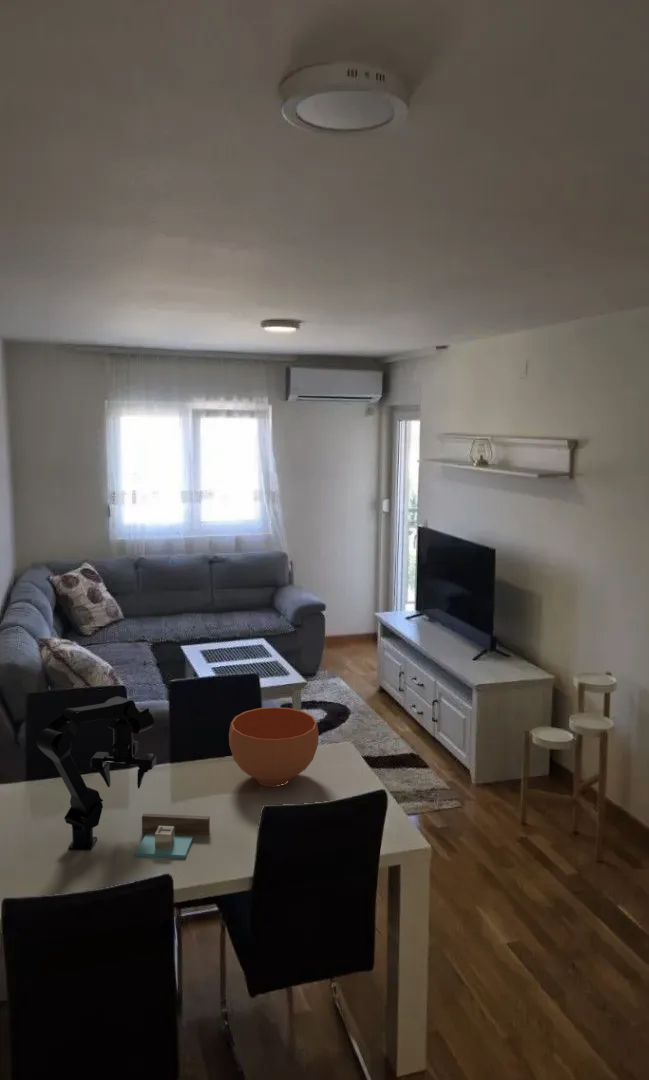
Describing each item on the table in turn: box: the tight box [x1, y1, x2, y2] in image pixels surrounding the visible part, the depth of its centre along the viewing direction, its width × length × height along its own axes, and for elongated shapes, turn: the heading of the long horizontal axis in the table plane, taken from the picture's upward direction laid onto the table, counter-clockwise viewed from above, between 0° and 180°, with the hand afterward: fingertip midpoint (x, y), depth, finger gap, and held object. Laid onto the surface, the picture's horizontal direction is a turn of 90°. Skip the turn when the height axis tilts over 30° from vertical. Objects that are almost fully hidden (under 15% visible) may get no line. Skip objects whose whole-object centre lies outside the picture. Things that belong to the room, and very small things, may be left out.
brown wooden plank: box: [141, 813, 211, 836], centre depth 234 cm, size 2×20×5 cm, turn 87°
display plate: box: [135, 834, 194, 859], centre depth 225 cm, size 10×14×1 cm
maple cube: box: [154, 826, 175, 849], centre depth 225 cm, size 4×4×5 cm
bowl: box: [228, 706, 320, 787], centre depth 268 cm, size 30×30×20 cm
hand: (124, 787), depth 238 cm, fingers open, 9 cm apart
